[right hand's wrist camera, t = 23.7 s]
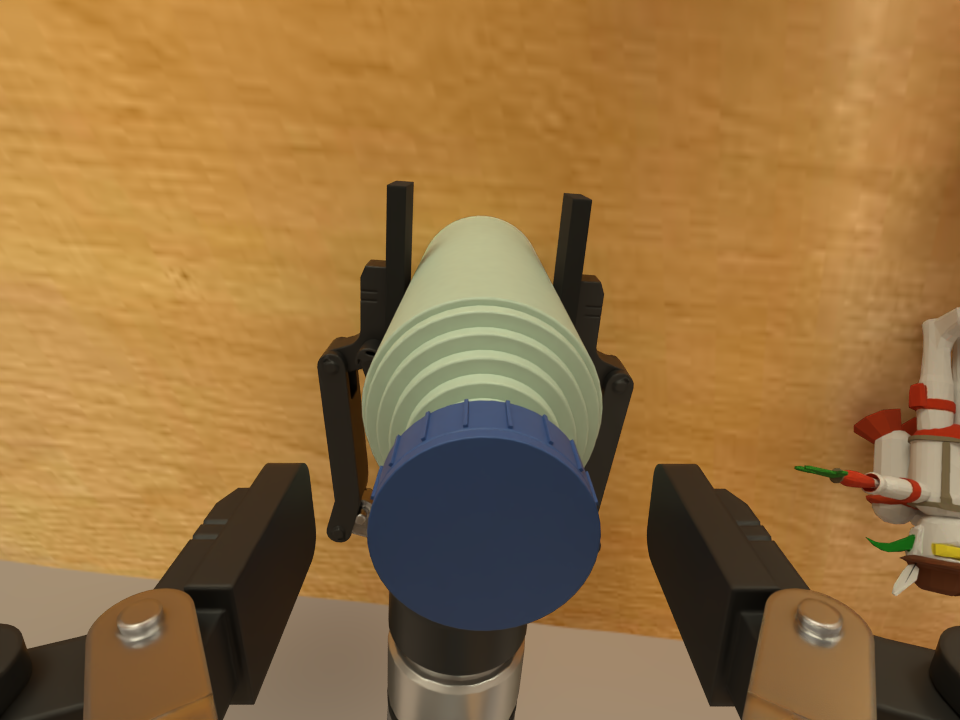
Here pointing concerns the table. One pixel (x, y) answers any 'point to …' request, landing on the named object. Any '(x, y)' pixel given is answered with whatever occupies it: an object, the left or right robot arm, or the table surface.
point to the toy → (919, 465)
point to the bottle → (481, 340)
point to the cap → (483, 517)
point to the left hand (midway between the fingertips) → (489, 190)
